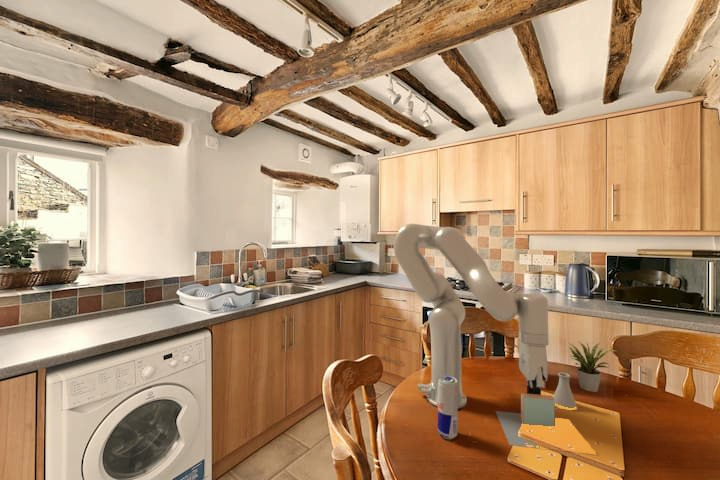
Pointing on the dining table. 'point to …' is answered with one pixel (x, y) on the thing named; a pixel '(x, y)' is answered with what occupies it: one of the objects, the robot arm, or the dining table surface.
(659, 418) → the dining table surface
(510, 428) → the mat
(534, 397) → the tile
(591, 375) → the house plant
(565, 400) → the flask
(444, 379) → the beverage can
